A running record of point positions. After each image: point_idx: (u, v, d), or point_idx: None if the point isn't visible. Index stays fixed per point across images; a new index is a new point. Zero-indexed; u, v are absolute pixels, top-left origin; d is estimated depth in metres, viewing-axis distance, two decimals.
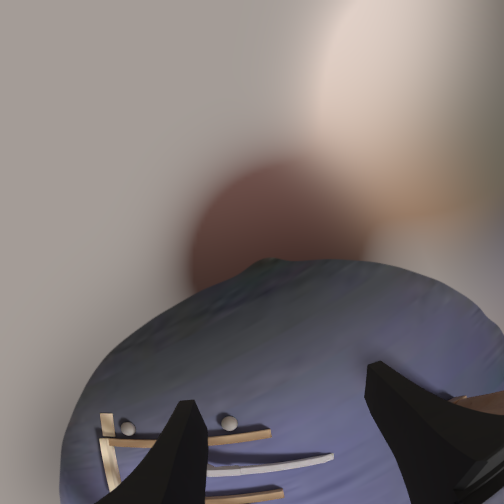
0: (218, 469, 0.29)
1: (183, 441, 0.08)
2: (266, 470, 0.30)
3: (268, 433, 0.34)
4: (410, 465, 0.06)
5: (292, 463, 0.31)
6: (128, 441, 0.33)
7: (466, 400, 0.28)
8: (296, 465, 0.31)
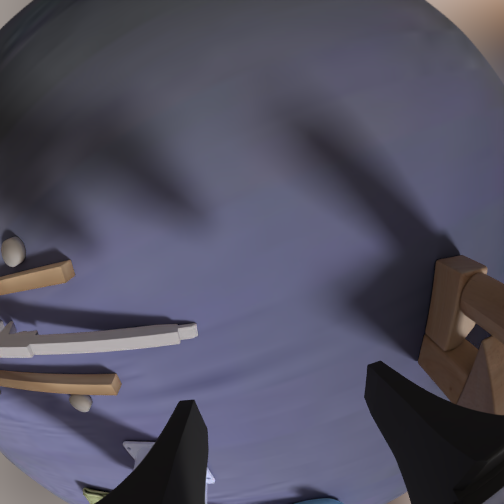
0: (4, 344, 0.15)
1: (183, 441, 0.08)
2: (67, 350, 0.17)
3: (59, 274, 0.16)
4: (410, 465, 0.06)
5: (108, 341, 0.17)
6: None
7: (494, 288, 0.14)
8: (116, 345, 0.18)
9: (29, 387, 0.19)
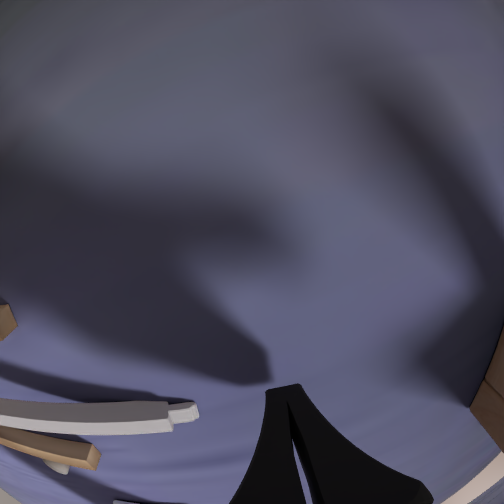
0: None
1: (290, 428, 0.08)
2: (22, 425, 0.09)
3: None
4: (313, 498, 0.06)
5: (70, 424, 0.10)
6: None
7: None
8: (81, 429, 0.10)
9: None
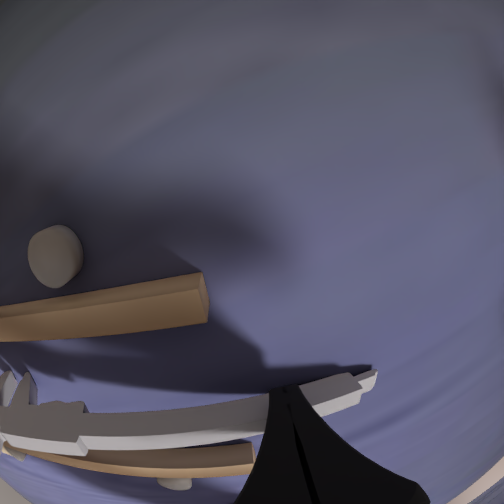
0: (25, 429, 0.07)
1: (293, 427, 0.08)
2: (161, 444, 0.09)
3: (191, 305, 0.09)
4: (311, 499, 0.06)
5: (250, 424, 0.10)
6: None
7: None
8: (262, 427, 0.10)
9: (85, 466, 0.12)
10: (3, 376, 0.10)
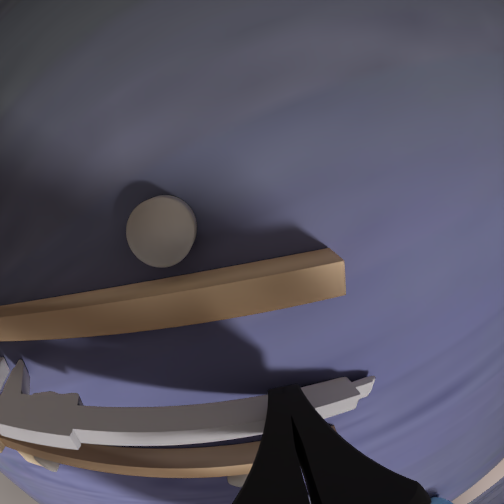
0: (17, 419, 0.07)
1: (292, 427, 0.08)
2: (157, 441, 0.09)
3: (334, 278, 0.09)
4: (311, 499, 0.06)
5: (248, 425, 0.10)
6: None
7: None
8: (259, 428, 0.10)
9: (146, 473, 0.12)
10: None
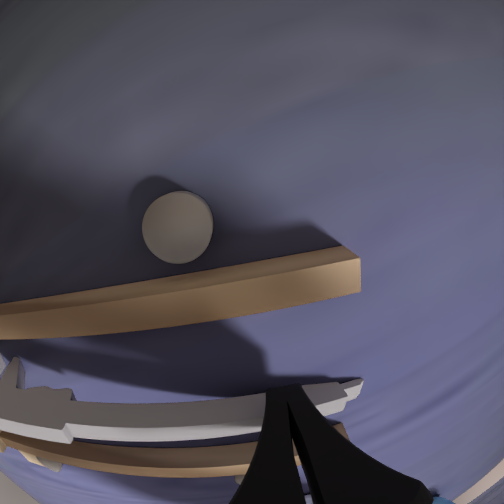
0: (12, 413, 0.07)
1: (290, 428, 0.08)
2: (147, 437, 0.09)
3: (350, 275, 0.09)
4: (313, 498, 0.06)
5: (235, 423, 0.10)
6: None
7: None
8: (247, 427, 0.10)
9: (153, 473, 0.12)
10: None
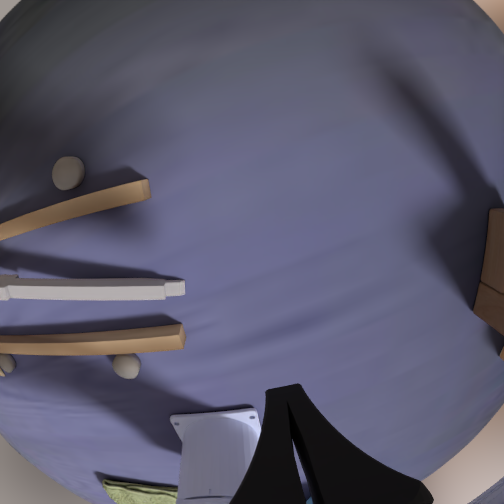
0: None
1: (290, 428, 0.08)
2: (45, 295, 0.16)
3: (137, 190, 0.15)
4: (313, 498, 0.06)
5: (89, 288, 0.16)
6: None
7: None
8: (96, 293, 0.17)
9: (59, 351, 0.18)
10: None
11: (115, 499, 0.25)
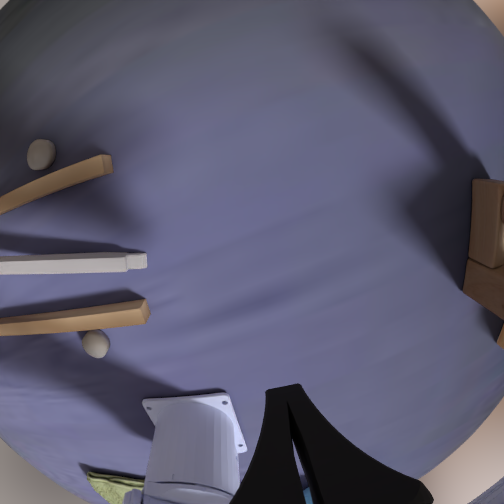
0: None
1: (290, 428, 0.08)
2: (18, 270, 0.15)
3: (97, 164, 0.15)
4: (313, 498, 0.06)
5: (56, 262, 0.16)
6: None
7: None
8: (63, 267, 0.16)
9: (34, 330, 0.18)
10: None
11: (100, 493, 0.25)
